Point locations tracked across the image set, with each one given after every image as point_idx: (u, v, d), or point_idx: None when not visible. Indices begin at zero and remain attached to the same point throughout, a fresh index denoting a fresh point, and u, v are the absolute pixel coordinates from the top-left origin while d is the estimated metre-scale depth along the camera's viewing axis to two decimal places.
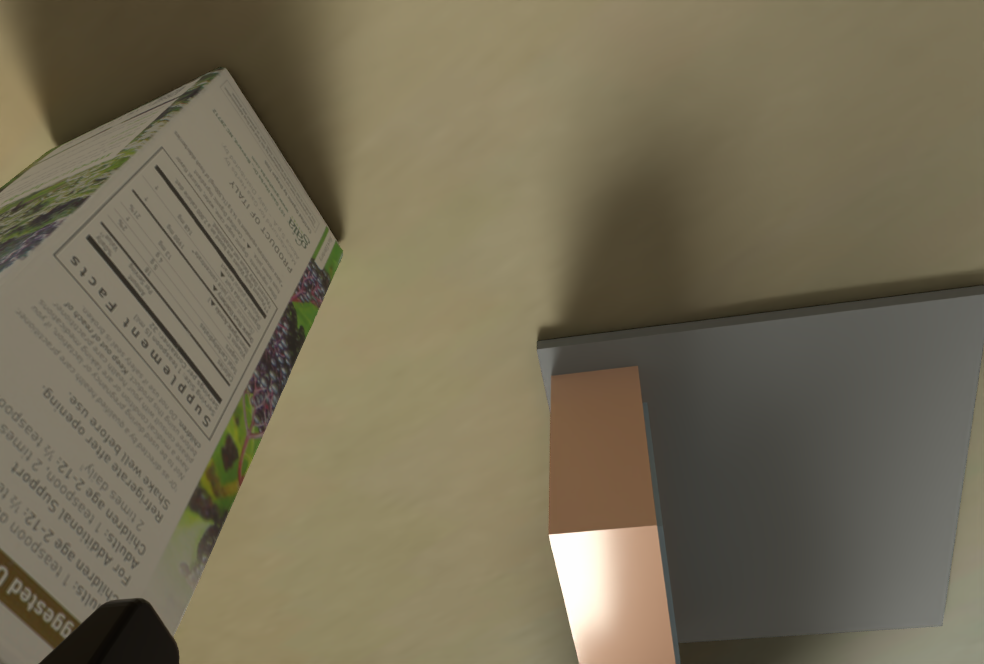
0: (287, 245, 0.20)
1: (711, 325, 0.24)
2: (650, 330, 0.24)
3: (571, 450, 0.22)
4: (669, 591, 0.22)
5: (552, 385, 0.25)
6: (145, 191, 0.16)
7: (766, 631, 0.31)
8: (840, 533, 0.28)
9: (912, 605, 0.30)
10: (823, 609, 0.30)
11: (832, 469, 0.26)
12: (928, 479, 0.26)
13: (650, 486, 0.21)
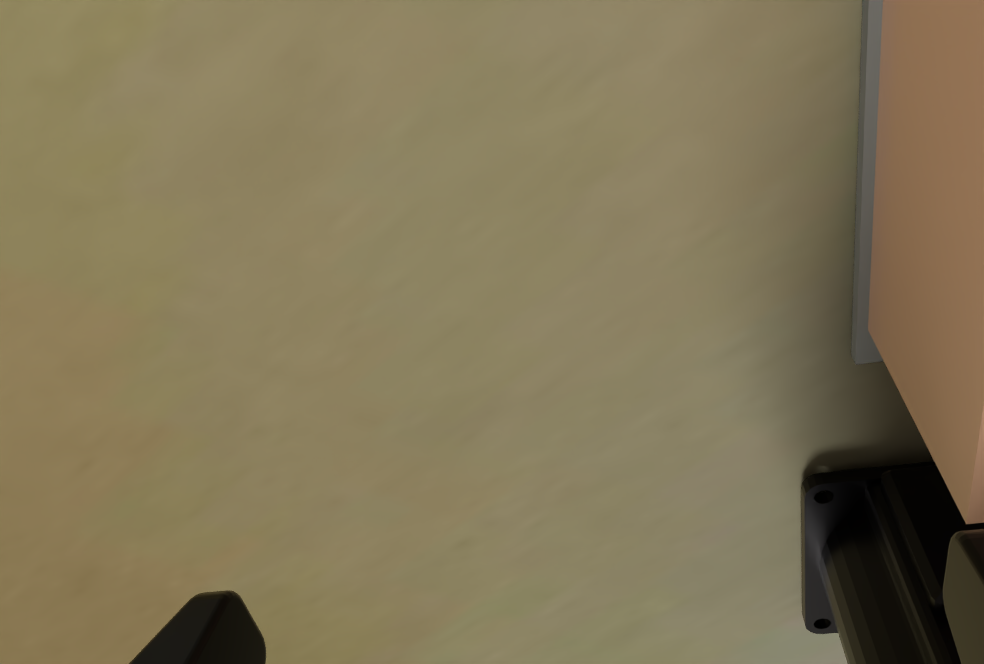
0: None
1: None
2: None
3: None
4: None
5: None
6: None
7: None
8: None
9: None
10: None
11: None
12: None
13: None
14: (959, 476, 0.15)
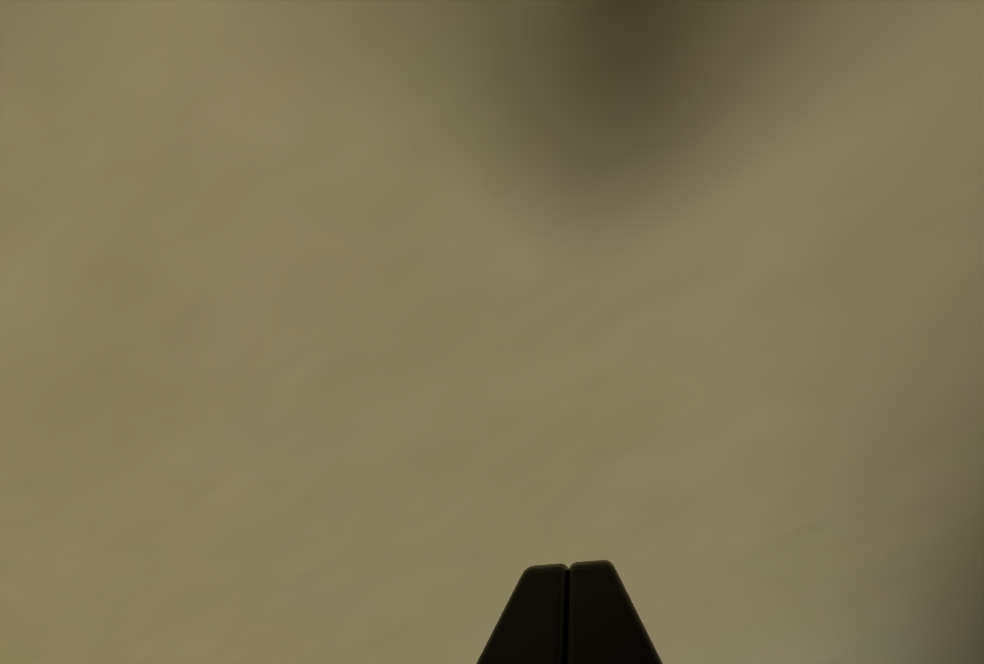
0: None
1: None
2: None
3: None
4: None
5: None
6: None
7: None
8: None
9: None
10: None
11: None
12: None
13: None
14: None
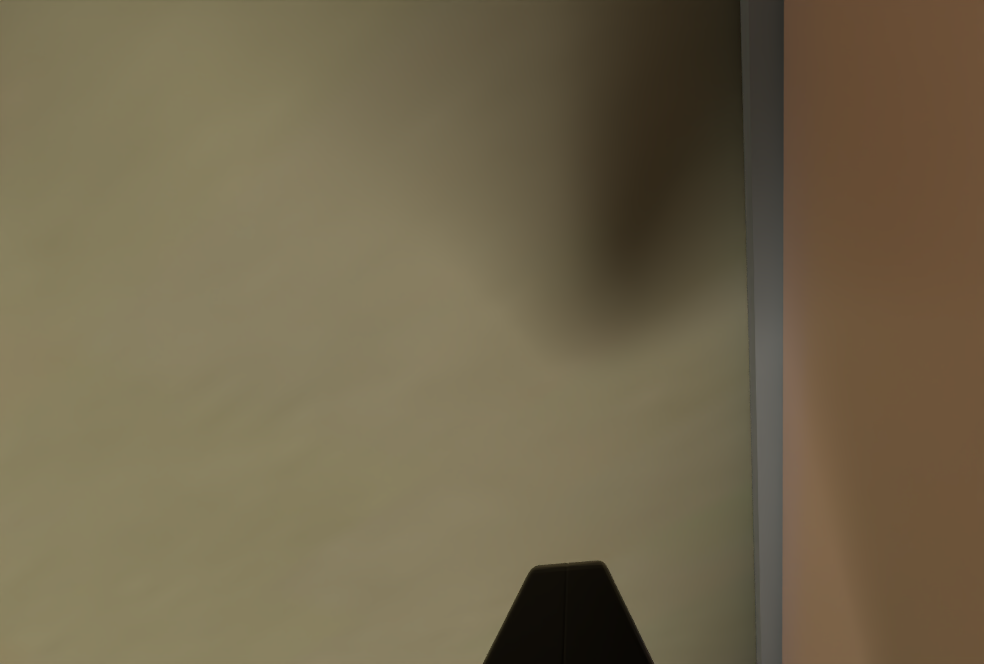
0: None
1: None
2: None
3: None
4: None
5: None
6: None
7: None
8: None
9: None
10: None
11: None
12: None
13: None
14: None
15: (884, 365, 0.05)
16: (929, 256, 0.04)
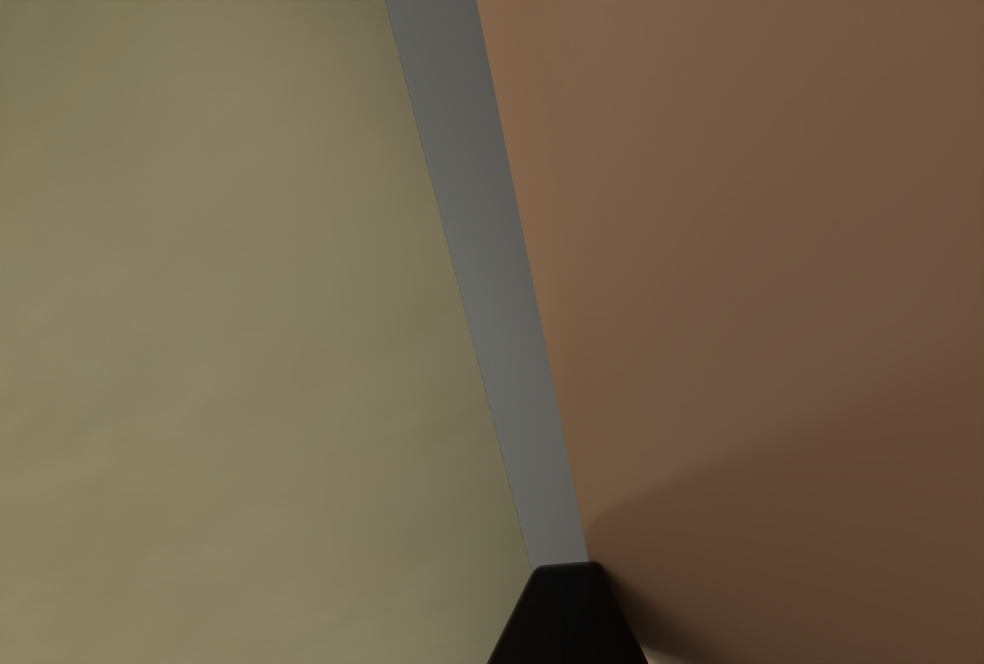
0: None
1: None
2: None
3: None
4: None
5: None
6: None
7: None
8: None
9: None
10: None
11: None
12: None
13: None
14: None
15: (856, 468, 0.05)
16: (958, 345, 0.04)
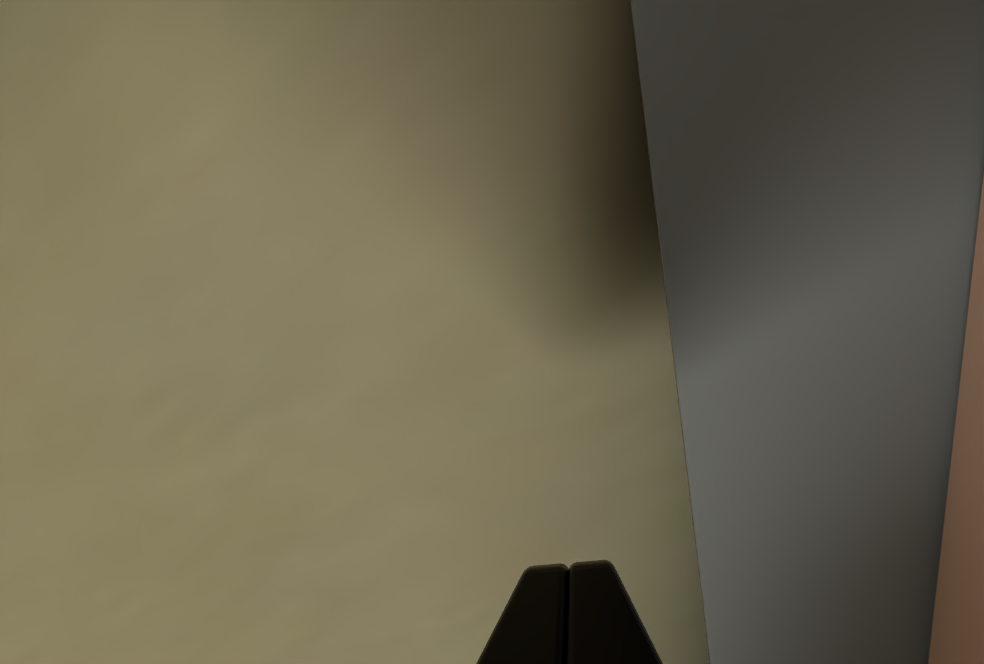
0: None
1: None
2: None
3: None
4: None
5: None
6: None
7: None
8: None
9: None
10: None
11: None
12: None
13: None
14: None
15: None
16: None
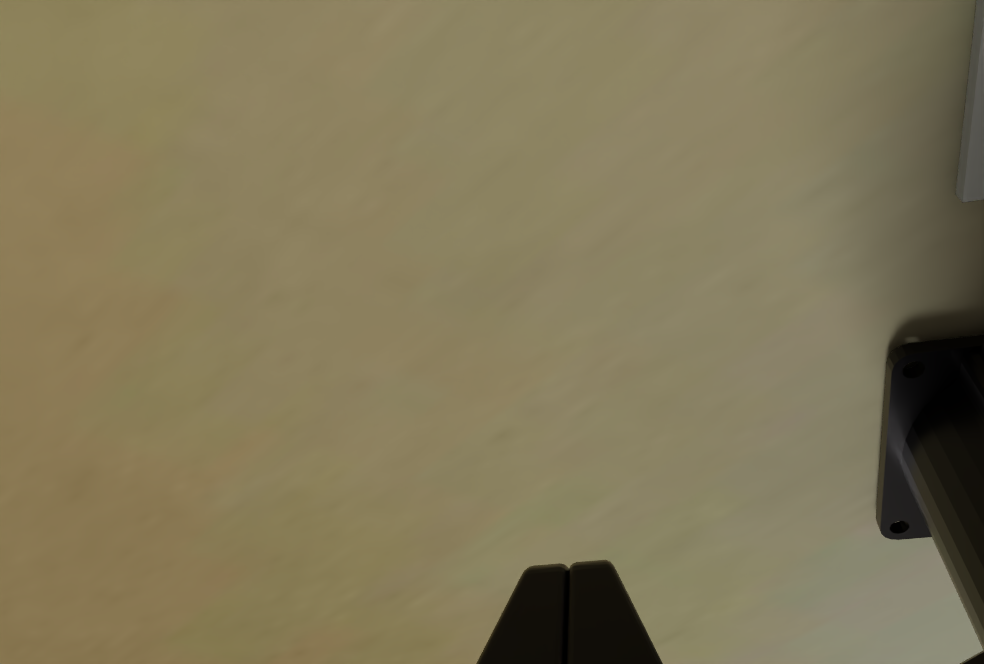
0: None
1: None
2: None
3: None
4: None
5: None
6: None
7: None
8: None
9: None
10: None
11: None
12: None
13: None
14: None
15: None
16: None
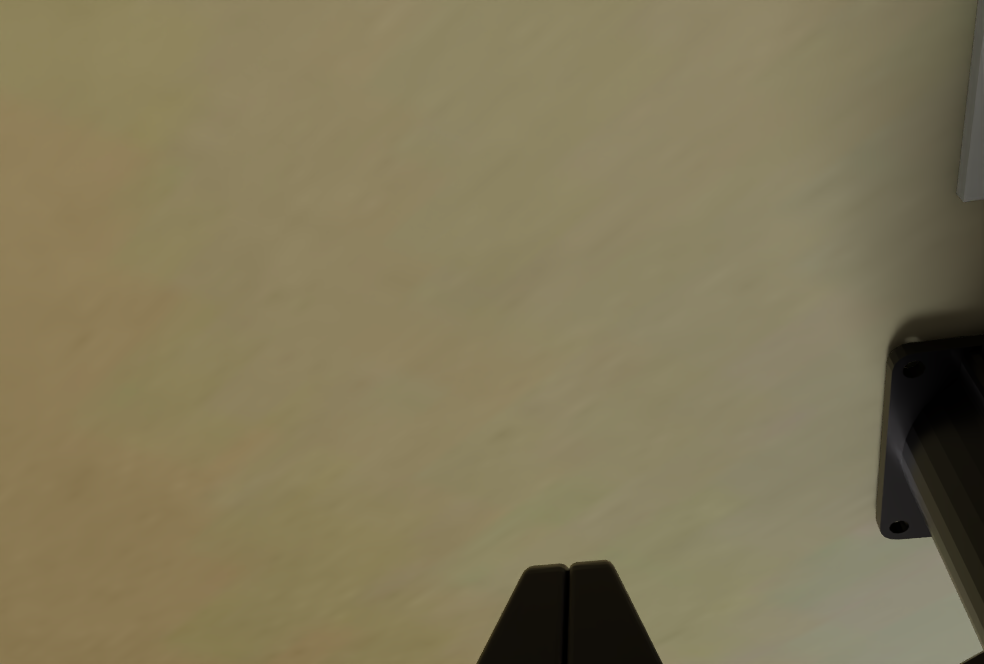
0: None
1: None
2: None
3: None
4: None
5: None
6: None
7: None
8: None
9: None
10: None
11: None
12: None
13: None
14: None
15: None
16: None
